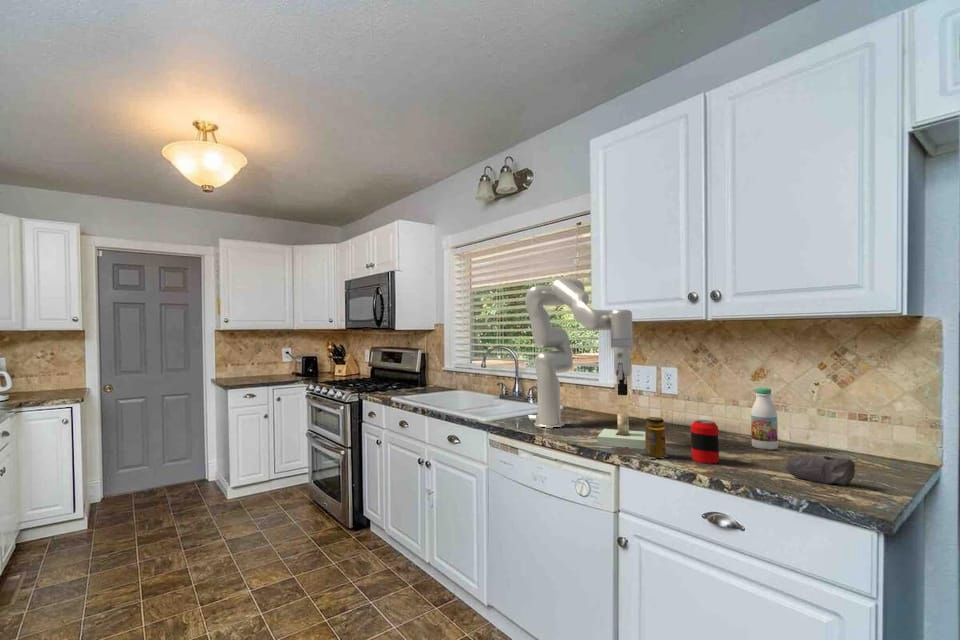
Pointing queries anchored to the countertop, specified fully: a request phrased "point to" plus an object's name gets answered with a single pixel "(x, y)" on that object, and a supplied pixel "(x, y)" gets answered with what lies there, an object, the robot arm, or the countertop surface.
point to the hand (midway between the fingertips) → (622, 394)
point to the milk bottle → (764, 421)
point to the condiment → (654, 438)
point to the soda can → (704, 441)
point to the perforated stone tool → (822, 469)
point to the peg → (623, 424)
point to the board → (622, 439)
